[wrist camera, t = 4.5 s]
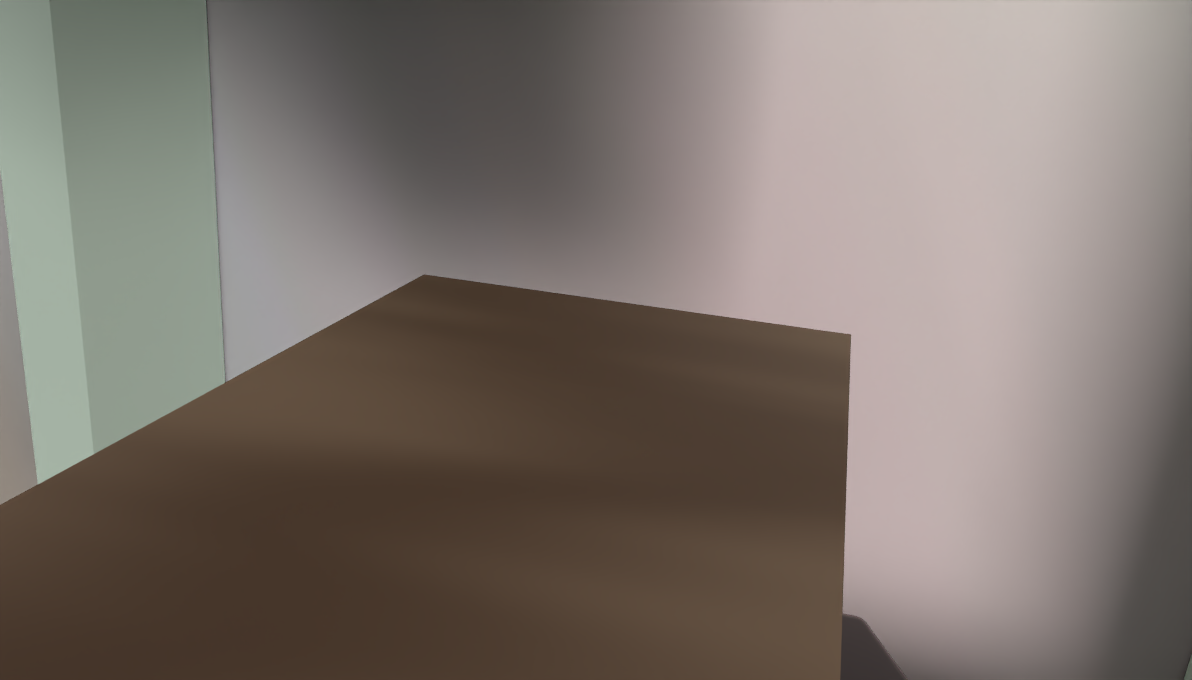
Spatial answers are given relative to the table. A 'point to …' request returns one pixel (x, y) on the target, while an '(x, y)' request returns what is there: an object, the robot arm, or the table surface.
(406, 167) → the table surface
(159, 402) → the green square frame
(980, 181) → the table surface
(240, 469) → the walnut block
